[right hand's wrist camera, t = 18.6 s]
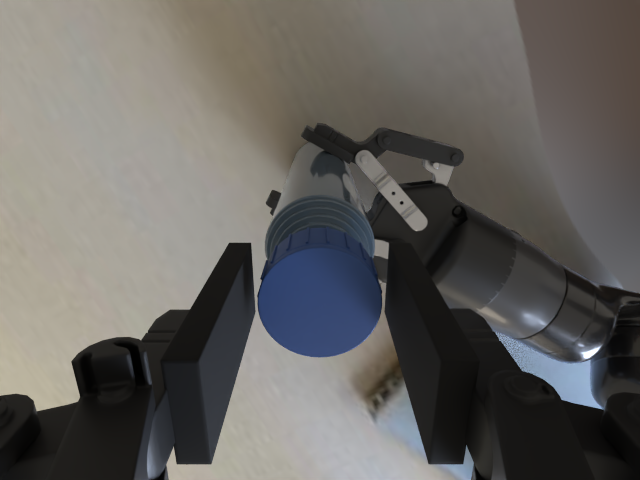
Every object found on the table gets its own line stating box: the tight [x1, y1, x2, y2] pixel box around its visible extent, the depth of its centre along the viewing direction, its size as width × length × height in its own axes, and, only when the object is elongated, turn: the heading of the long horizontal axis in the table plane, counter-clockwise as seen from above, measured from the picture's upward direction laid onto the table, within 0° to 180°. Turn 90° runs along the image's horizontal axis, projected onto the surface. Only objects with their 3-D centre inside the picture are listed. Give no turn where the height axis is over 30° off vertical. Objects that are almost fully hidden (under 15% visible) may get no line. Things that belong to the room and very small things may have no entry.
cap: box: [257, 227, 382, 357], centre depth 14 cm, size 4×4×2 cm
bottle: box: [265, 142, 375, 260], centre depth 24 cm, size 5×5×23 cm
